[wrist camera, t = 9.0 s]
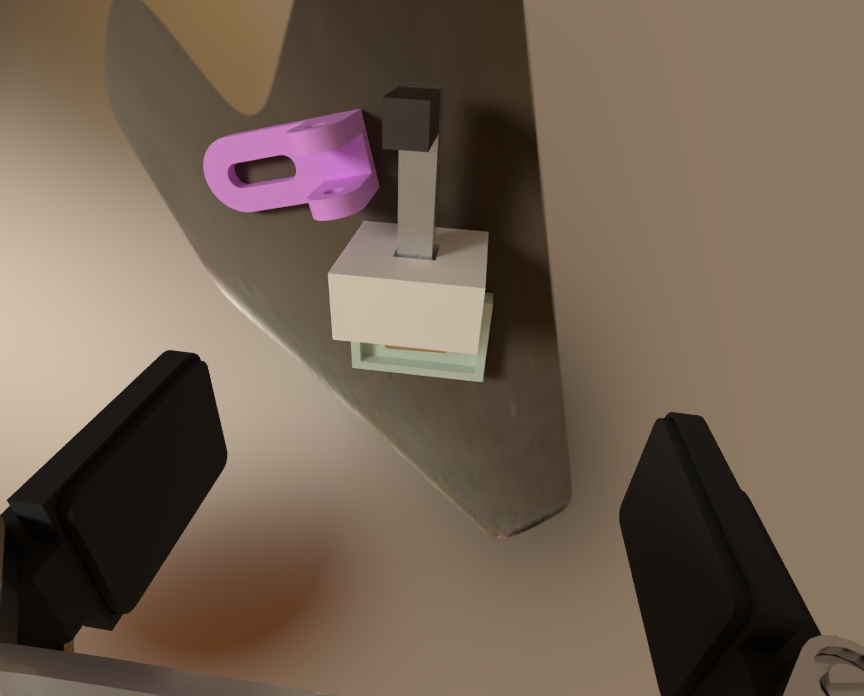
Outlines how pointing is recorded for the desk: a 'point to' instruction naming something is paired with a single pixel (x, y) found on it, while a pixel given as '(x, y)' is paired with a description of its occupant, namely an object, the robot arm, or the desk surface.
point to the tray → (428, 356)
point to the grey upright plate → (415, 162)
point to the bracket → (299, 166)
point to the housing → (410, 290)
